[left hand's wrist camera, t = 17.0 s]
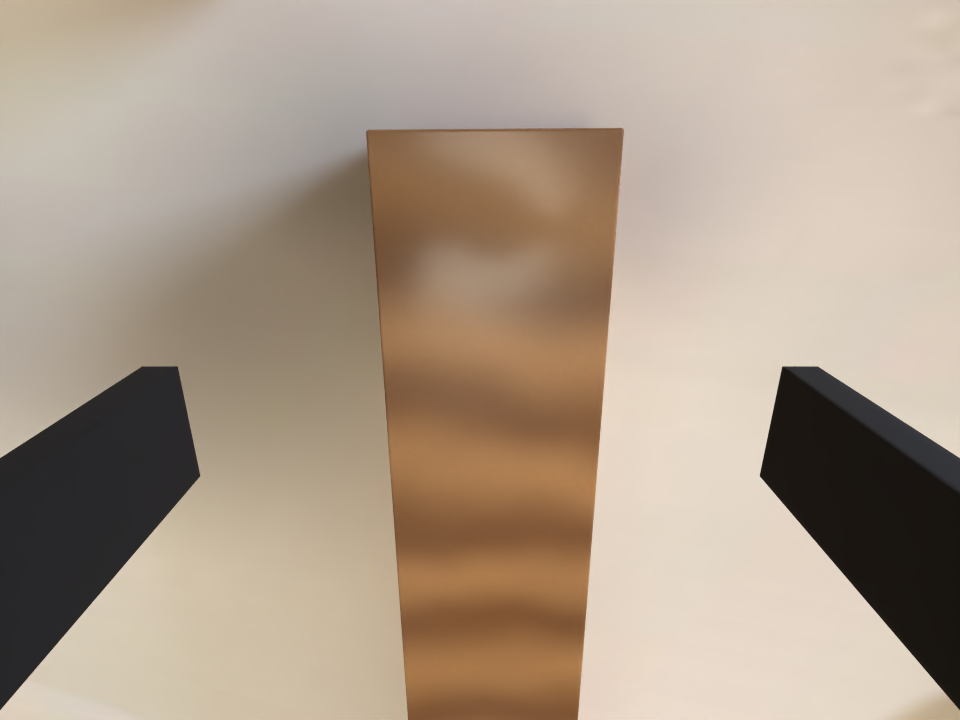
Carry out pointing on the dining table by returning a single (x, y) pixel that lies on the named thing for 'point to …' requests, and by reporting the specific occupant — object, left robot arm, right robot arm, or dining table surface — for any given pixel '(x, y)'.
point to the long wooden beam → (494, 404)
